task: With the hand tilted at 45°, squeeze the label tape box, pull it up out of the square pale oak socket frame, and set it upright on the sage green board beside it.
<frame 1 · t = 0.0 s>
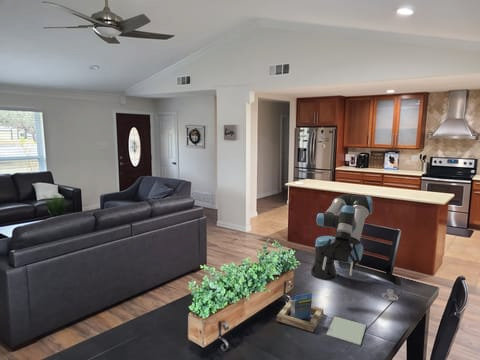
hand: (336, 272, 171), 15 cm above the table, tool tilted 35°, fingers open, 13 cm apart
sage board: (346, 330, 148), on the table
oak socket frame: (300, 317, 157), on the table
teacup and saucer: (385, 298, 178), on the table
label tape box: (300, 317, 158), resting in oak socket frame
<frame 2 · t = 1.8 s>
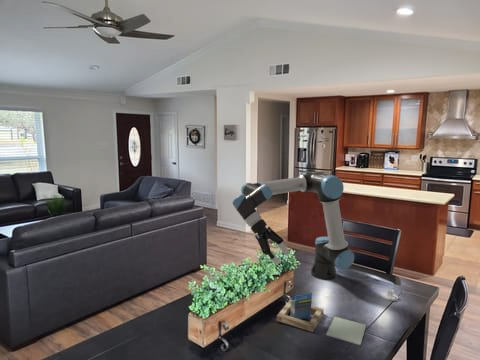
hand: (283, 259, 158), 26 cm above the table, tool tilted 45°, fingers open, 13 cm apart
nothing on the table moved.
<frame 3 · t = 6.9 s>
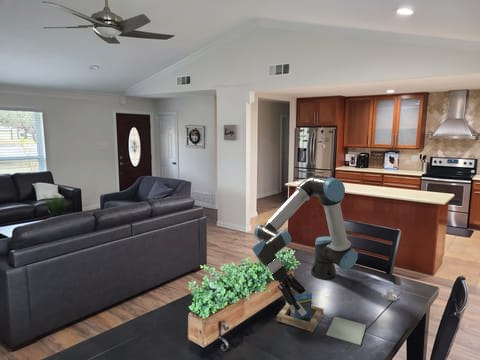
hand: (307, 309, 155), 5 cm above the table, tool tilted 45°, fingers closed on label tape box, 9 cm apart
label tape box: (300, 317, 158), resting in oak socket frame, touching gripper
everything else where it was.
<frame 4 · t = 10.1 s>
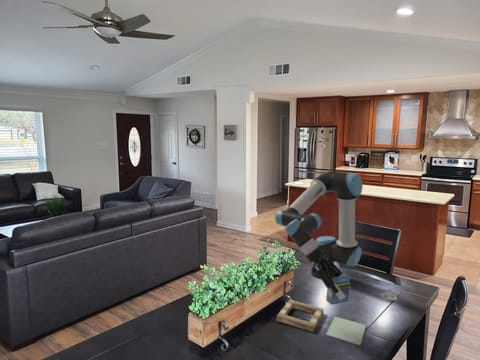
hand: (345, 293, 145), 17 cm above the table, tool tilted 45°, fingers closed on label tape box, 9 cm apart
label tape box: (337, 302, 147), point 13 cm above the table, touching gripper
everything else where it was.
when the fingers open (7 cm above the table, at t = 13.4 s): label tape box drops 2 cm, resting on sage board.
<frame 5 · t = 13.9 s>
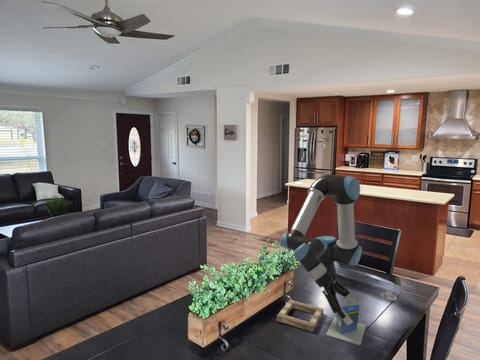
hand: (353, 315, 145), 8 cm above the table, tool tilted 45°, fingers open, 13 cm apart
label tape box: (346, 330, 147), resting on sage board
everything else where it was.
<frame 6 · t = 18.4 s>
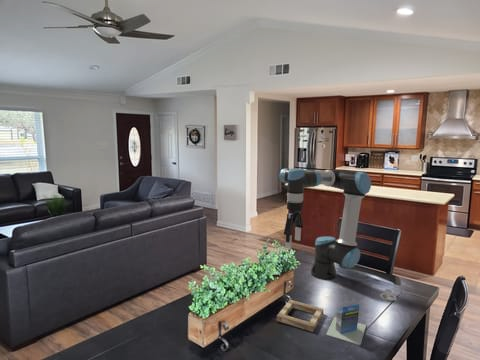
hand: (292, 244, 163), 32 cm above the table, tool pointing down, fingers open, 13 cm apart
at the end: label tape box inside the target area on the sage board (0.3 cm from its centre), point 0.3 cm above the sage board's base; label tape box tilted 0°; the gripper is holding nothing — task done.
